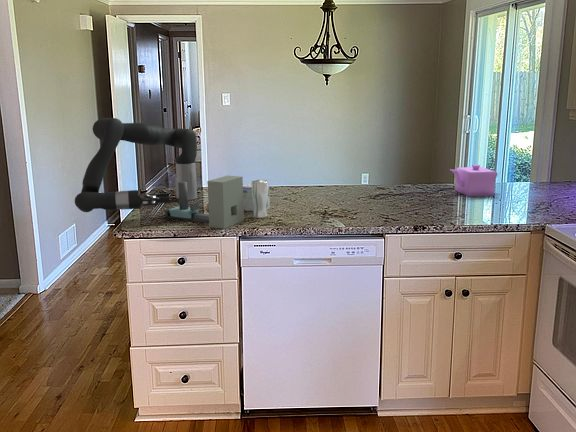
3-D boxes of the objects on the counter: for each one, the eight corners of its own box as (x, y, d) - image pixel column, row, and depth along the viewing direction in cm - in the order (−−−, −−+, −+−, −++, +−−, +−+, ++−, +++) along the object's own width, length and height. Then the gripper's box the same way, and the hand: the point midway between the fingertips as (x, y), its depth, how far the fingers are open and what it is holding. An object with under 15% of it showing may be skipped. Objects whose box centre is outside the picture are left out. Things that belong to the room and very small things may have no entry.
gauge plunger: (206, 213, 222) (205, 204, 221) (212, 211, 225) (211, 202, 224) (226, 216, 218) (226, 206, 217) (232, 214, 221) (232, 204, 220)
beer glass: (251, 214, 235) (250, 179, 231) (268, 214, 235) (267, 179, 232) (252, 218, 228) (251, 182, 225) (269, 218, 229) (268, 182, 225)
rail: (165, 217, 232) (164, 210, 231) (173, 214, 236) (172, 207, 235) (214, 223, 220) (214, 216, 220) (222, 221, 225) (221, 213, 224)
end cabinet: (208, 226, 217) (206, 180, 212) (228, 218, 229) (226, 175, 224) (224, 228, 213) (222, 182, 209) (243, 220, 225) (242, 176, 221)
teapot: (441, 191, 281) (443, 163, 277) (488, 189, 284) (490, 161, 281) (454, 197, 266) (456, 168, 263) (503, 195, 269) (506, 166, 266)
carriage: (169, 216, 229) (167, 183, 226) (180, 212, 235) (178, 180, 232) (190, 219, 224) (189, 185, 221) (201, 215, 230) (199, 182, 227)
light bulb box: (270, 208, 245) (269, 184, 243) (264, 212, 239) (264, 187, 237) (247, 207, 249) (247, 183, 246) (241, 210, 243) (241, 186, 240)
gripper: (126, 194, 216) (168, 192, 219) (128, 187, 230) (168, 185, 233) (127, 213, 218) (170, 210, 221) (130, 205, 231) (169, 202, 235)
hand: (169, 197), depth 227 cm, fingers open, 8 cm apart
